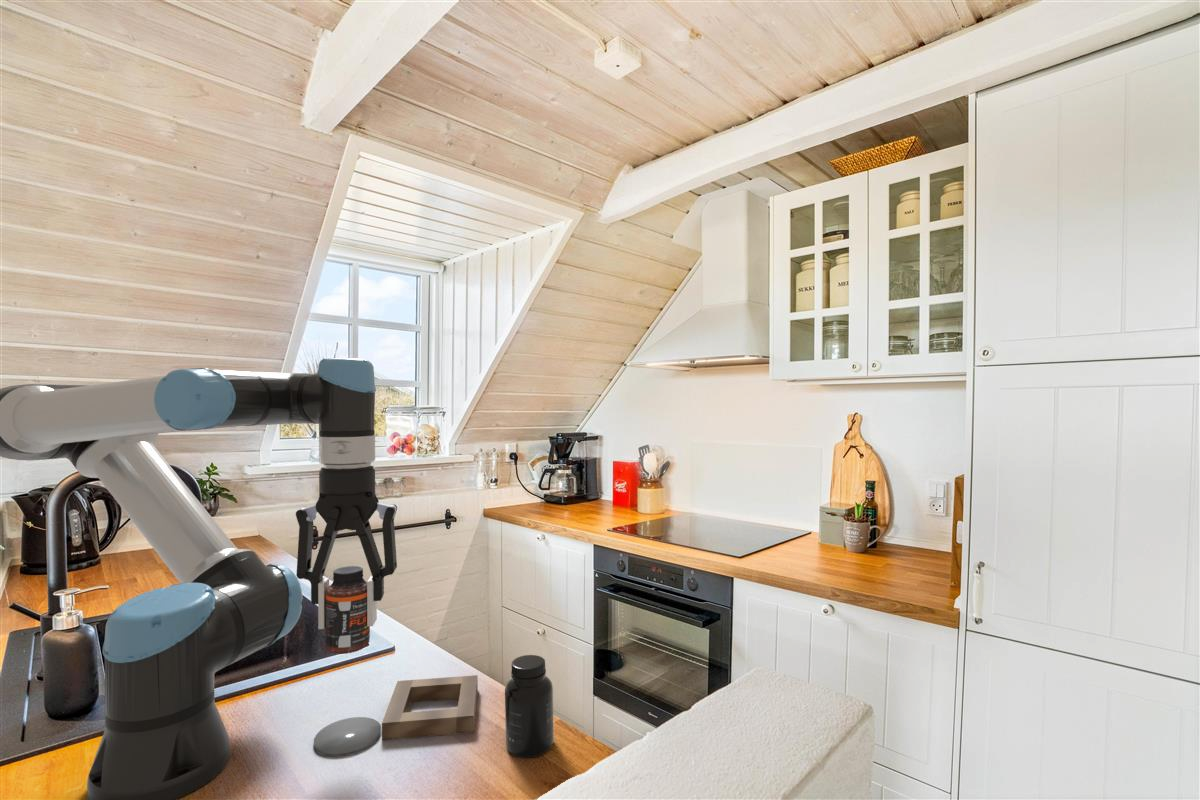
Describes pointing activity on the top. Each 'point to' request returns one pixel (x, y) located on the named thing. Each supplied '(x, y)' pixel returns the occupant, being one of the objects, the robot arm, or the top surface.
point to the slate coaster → (347, 736)
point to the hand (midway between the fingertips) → (348, 623)
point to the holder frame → (433, 721)
